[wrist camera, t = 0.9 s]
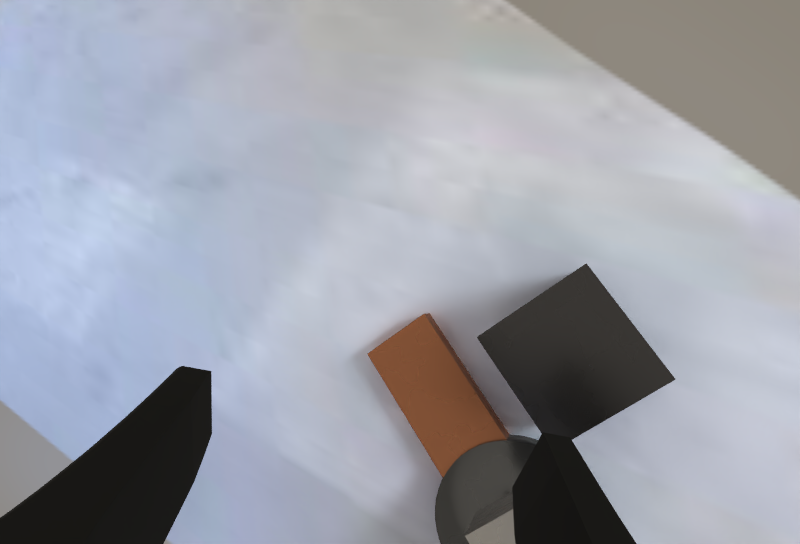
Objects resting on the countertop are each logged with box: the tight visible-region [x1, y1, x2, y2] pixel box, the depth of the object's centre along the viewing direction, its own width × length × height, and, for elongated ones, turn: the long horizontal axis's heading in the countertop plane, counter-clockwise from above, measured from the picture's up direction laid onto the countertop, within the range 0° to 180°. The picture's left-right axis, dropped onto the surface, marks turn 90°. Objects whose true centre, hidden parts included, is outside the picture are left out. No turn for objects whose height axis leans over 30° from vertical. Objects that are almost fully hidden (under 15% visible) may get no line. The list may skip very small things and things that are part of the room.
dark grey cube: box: [477, 264, 675, 440], centre depth 21 cm, size 5×5×4 cm
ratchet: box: [368, 313, 538, 544], centre depth 22 cm, size 14×7×4 cm, turn 34°
